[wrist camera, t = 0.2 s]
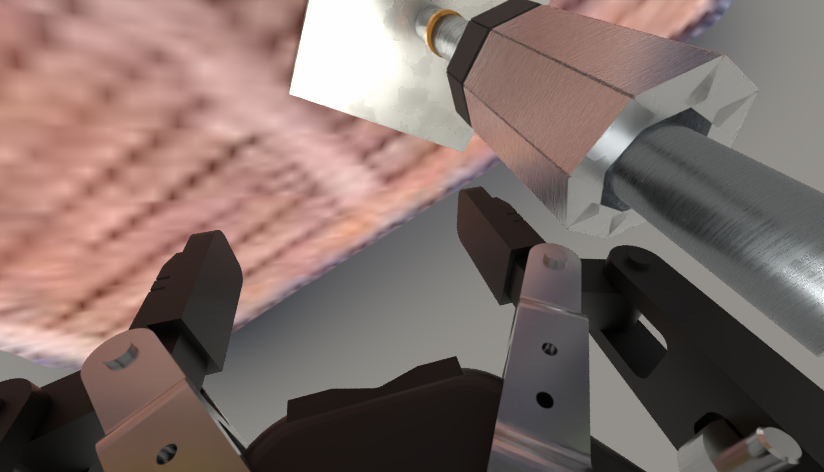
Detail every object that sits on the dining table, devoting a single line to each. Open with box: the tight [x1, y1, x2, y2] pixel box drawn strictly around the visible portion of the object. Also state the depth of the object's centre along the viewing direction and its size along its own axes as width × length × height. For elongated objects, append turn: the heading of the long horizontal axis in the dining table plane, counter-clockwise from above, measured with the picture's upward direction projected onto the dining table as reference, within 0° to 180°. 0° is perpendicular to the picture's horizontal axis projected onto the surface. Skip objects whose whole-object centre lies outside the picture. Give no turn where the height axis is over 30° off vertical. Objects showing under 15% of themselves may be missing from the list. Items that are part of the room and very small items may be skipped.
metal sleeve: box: [463, 5, 758, 238], centre depth 13 cm, size 6×6×8 cm
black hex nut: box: [446, 0, 542, 128], centre depth 16 cm, size 6×6×2 cm
